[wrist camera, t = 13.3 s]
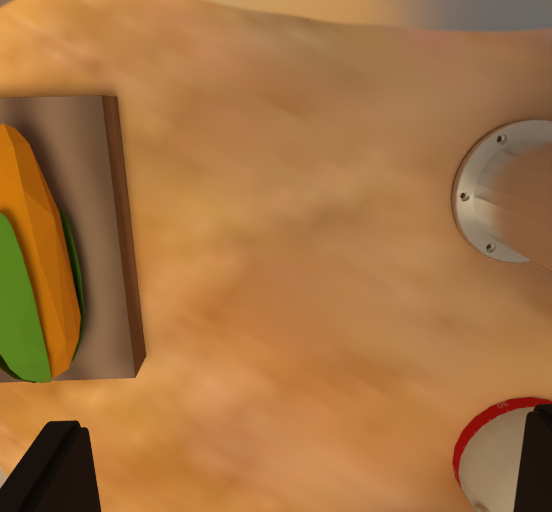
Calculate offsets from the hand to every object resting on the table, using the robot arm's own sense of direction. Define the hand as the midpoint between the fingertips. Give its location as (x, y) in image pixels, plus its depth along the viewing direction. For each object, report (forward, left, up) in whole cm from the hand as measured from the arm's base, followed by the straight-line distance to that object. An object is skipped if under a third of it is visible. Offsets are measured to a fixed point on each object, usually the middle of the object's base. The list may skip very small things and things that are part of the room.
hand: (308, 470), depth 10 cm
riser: (+19, +3, -34) cm, 39 cm away
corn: (+19, +3, -31) cm, 36 cm away
